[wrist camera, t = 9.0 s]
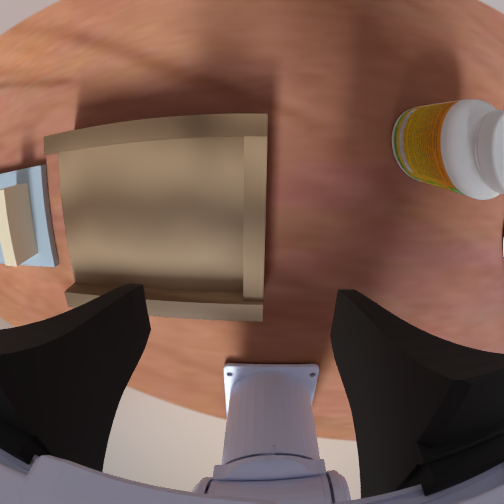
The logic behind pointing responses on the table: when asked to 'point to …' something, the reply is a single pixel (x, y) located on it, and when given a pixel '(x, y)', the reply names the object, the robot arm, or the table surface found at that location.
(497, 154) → the supplement bottle
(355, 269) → the table surface
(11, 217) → the lid
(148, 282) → the box
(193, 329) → the table surface
